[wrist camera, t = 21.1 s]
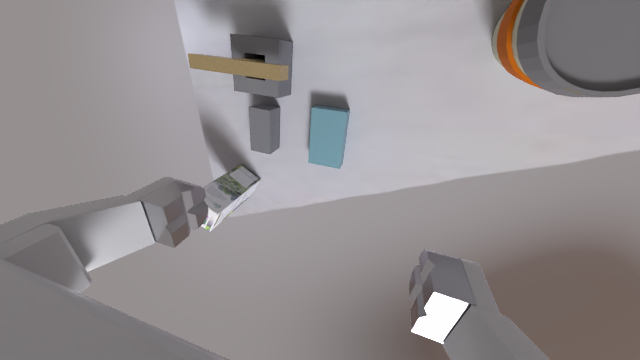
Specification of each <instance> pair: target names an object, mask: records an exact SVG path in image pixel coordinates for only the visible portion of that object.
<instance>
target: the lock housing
mask: <svg viewBox="0 0 640 360" xmlns="http://www.w3.org/2000/svg"><path fill="white" fill-rule="evenodd" d="M230 37H231V51H232V58H235V59H237V58H249V59H261V55H265V62H266V63H273V64H281V65H289V67H288V80H284V81H276V80H270V79H263V78H256V77H249V76H242V75H235V74H233V78H234V91H240V92H246V93H252V94H258V95H264V96H270V97H276V98H280V97H283V96H287V95H291V78H292V54H293V42H290V41H285V40H281V39H273V38H264V37H255V36H246V35H237V34H230ZM249 118H250V141H251V150H253V151H258V152H262V153H266V154H271V153H272V152H274V151H275V150H277V149H278V148H279V143H280V107H277V106H272V105H266V104H258V105H254V106H251V107H249Z"/></svg>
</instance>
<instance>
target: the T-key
mask: <svg viewBox="0 0 640 360" xmlns="http://www.w3.org/2000/svg"><path fill="white" fill-rule="evenodd" d="M188 57H189V64H190V68H194V69H201V70H208V71H215V72H222V73H228V74H235V75H242V76H249V77H256V78H263V79H270V80H276V81H284V80H288V67H289V65H281V64H273V63H266V62H265V59H249V58H237V59H235V58H227V57H219V56H211V55H203V54H188Z"/></svg>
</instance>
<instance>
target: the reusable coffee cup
mask: <svg viewBox="0 0 640 360" xmlns="http://www.w3.org/2000/svg"><path fill="white" fill-rule="evenodd" d="M492 50H493V54H494V56H495V58H496V60H497V61H498V62H499V63H500V64H501V65H502V66H503V67H504V68H505V69H506V70H507V71H508V72H509V73H510V74H512V75H513V76H515V77H516V78H518V79H520V80H522V81H524V82H526V83H528V84H531V85H533V86H536V87H538V88H541V89H544V90H547V91H549V92H552V93H554V94H557V95H564V96H570V97H620V96H626V95H632V94H638V93H640V0H513V1H512V3H511V4H510V6H509V7H508V9H507V10H506V11H505V12H504V13H503V15H502V16H501V18H500V19H499V21H498V23H497V25H496V27H495V30H494V33H493V37H492Z"/></svg>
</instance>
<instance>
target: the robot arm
mask: <svg viewBox="0 0 640 360" xmlns="http://www.w3.org/2000/svg"><path fill="white" fill-rule="evenodd" d="M205 197H206V193H205V189H204V188H202V187H201V186H198V185H194V184H191V183H188V182H185V181H181V180H177V179H174V178H170V177H164V178H162V179H160V180H158V181H156V182H154V183H152V184H150V185H148V186H146V187H144V188H142V189H140V190H138V191H136V192H133V193H131V194H129V195H127V196H117V197H111V198H106V199H101V200H96V201H91V202H86V203H80V204H76V205H70V206H65V207H60V208H55V209H50V210H45V211H40V212H34V213H29V214H26V215H23V216H21V217H19V218H17V219H14V220H11V221H9V222H7V223H4V224H2V225H0V360H229V359H227V358H225V357H222V356H220V355H218V354H216V353H213V352H211V351H209V350H207V349H204V348H202V347H200V346H198V345H195V344H193V343H191V342H188V341H186V340H184V339H182V338H180V337H177V336H175V335H173V334H171V333H168V332H166V331H163V330H161V329H159V328H157V327H155V326H153V325H150V324H148V323H146V322H144V321H141V320H139V319H137V318H134V317H132V316H130V315H128V314H126V313H123V312H121V311H118V310H116V309H114V308H112V307H109V306H107V305H105V304H103V303H101V302H98V301H96V300H94V299H92V298H89V297H87V296H85V295H83V294H80V292H82V291H83V290H84V289H86V288H87V287H89V286H90V285H91V282H92V280H91V278H90V276H89V274H88V273H87V272H88V271H90V270H93V269H95V268H97V267H100V266H102V265H104V264H106V263H109V262H111V261H114V260H116V259H118V258H121V257H123V256H125V255H128V254H130V253H132V252H135V251H137V250H139V249H142V248H144V247H147V246H149V245H151V244H154V243H155V242H158V243H161V244H164V245H167V246H170V247H173V248H175V247H176V246H178V245H179V244H180V243H181V242H182V241H183V240H185V239H186V238H187V237H188V236H189V234H190V231H191V230H194V229H197V228H199V227H200V226H201V225H202V224H203V223H204V222H205V220H206V218H207V217H208V205H207V204H206V203H205V201H204V199H205ZM419 264H420V265H418V266H416V267H414V269H413V271H412V274H411V278H410V283H409V296H410V298H411V299H412V301H413V302H414V303H413V305H412V307H411V309H410V315H411V329H412V332H415V333H418V334H420V335H423V336H425V337H428V338H431V339H433V340H436V341H439V342H441V343H443V344H442V345H443V347H444V349H445V351H446V352H447V354H448V356H449V358H450V359H451V360H550V359H549V358H548V357H547V356H546V355H545V354H544V353H543V352H542V351H541V350H540V349H539V348H538V347H537V346H536V345H535V344H534V343H533V342H532V341H531V340H530V339H529V338H528V337H527V336H526V335H525V334H524V333H523V332H522V331H521V330H520V329H519V328H518V327H517V326H516V325H515V324H514V323H513V322H512V321H511V320H510V319H509V318H508V317H507V316H504V315H501V314H500V312H499V309H498V307H497V305H496V302H495V300H494V297H493V295H492V293H491V290H490V288H489V286H488V283H487V281H486V279H485V276H484V274H483V272H482V269H481V267H480V265H478V263H476V262H471V261H468V260H464V259H460V258H455V257H451V256H448V255H444V254H440V253H437V252H433V251H429V250H426V249H424V250H423V251H422V252H421V254H420V256H419Z"/></svg>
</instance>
